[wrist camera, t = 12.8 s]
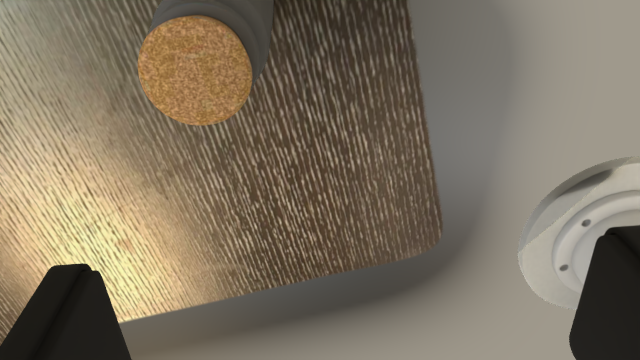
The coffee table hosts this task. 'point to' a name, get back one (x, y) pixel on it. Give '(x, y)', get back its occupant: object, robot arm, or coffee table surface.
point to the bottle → (204, 57)
